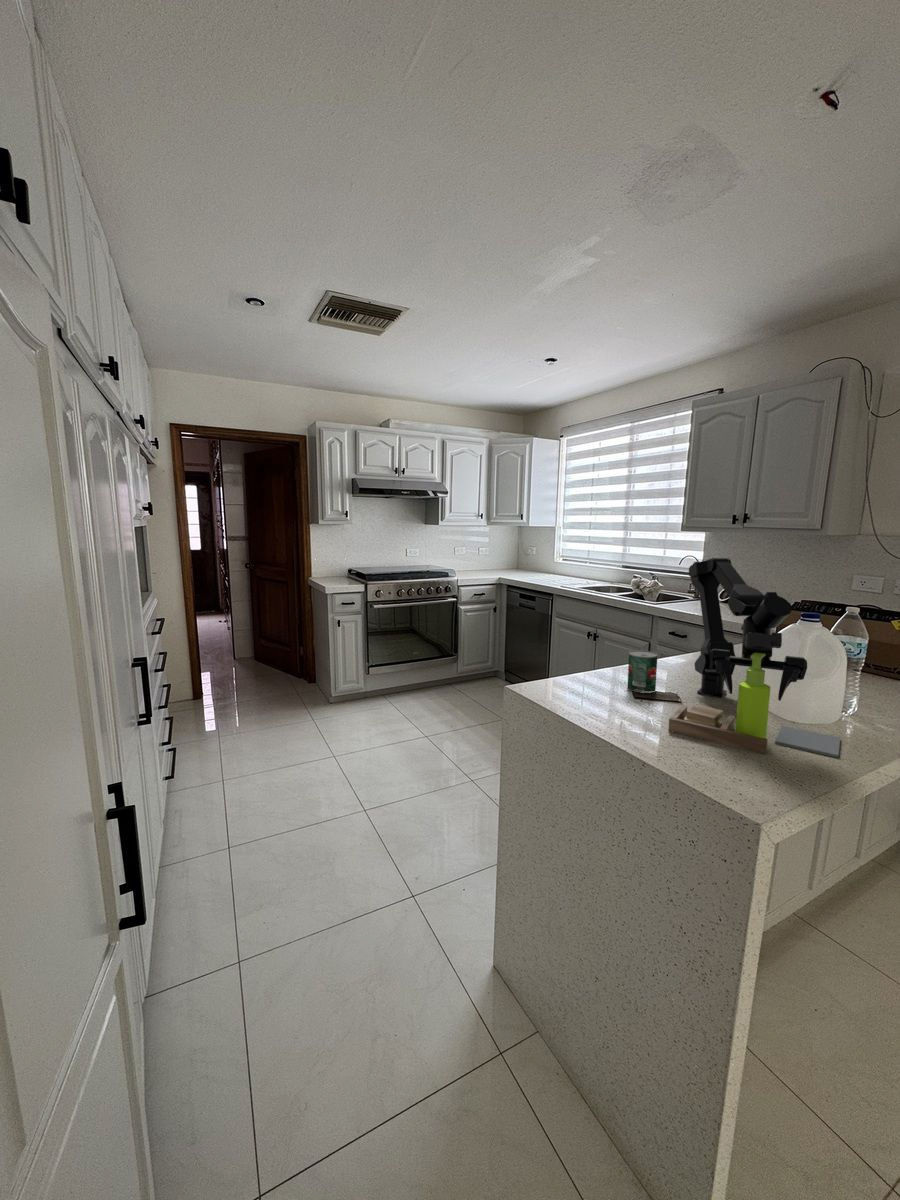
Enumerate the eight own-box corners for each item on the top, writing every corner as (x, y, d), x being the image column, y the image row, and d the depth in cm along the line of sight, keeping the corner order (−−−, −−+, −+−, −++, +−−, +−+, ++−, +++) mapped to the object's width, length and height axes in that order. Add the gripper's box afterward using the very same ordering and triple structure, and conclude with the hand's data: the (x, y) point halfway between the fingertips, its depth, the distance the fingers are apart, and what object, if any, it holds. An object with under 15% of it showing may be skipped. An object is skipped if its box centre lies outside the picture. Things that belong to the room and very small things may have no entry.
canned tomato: (624, 684, 149) (626, 649, 148) (651, 685, 148) (653, 650, 147) (630, 693, 142) (632, 656, 140) (659, 694, 141) (661, 657, 139)
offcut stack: (689, 720, 122) (691, 702, 121) (722, 727, 117) (723, 709, 117) (680, 730, 116) (681, 712, 115) (714, 738, 111) (716, 720, 110)
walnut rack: (681, 716, 124) (682, 705, 124) (772, 737, 112) (773, 724, 111) (668, 730, 116) (669, 718, 115) (765, 754, 103) (766, 741, 103)
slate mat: (781, 727, 117) (781, 725, 117) (840, 740, 110) (840, 737, 110) (775, 743, 108) (775, 741, 108) (838, 758, 101) (838, 755, 101)
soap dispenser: (768, 739, 111) (776, 653, 108) (762, 749, 106) (770, 659, 103) (739, 732, 115) (746, 649, 112) (731, 741, 110) (738, 655, 107)
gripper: (712, 615, 115) (708, 672, 107) (810, 621, 106) (812, 685, 98) (711, 641, 123) (707, 696, 115) (802, 649, 114) (804, 709, 106)
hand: (754, 696), depth 109 cm, fingers open, 9 cm apart
